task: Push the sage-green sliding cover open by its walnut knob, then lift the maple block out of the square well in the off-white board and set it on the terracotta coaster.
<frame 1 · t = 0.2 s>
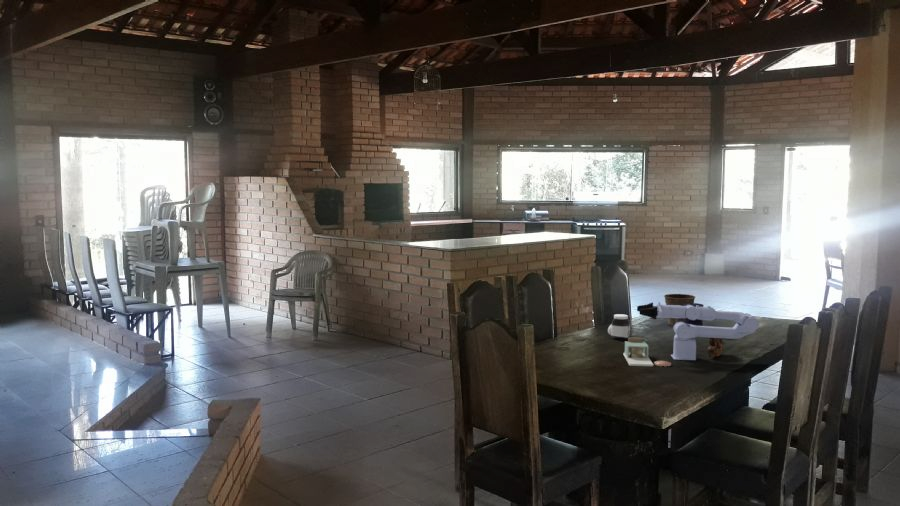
hand: (638, 310, 326), 21 cm above the table, tool horizontal, fingers open, 7 cm apart
plant pot: (678, 325, 399), on the table
block: (636, 357, 327), resting in board
wooden carving: (715, 356, 330), on the table, touching arm
board: (637, 360, 322), on the table
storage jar: (692, 333, 379), on the table
cover: (636, 347, 327), point 5 cm above the table, slide at 0.0 cm
coaster: (662, 364, 315), on the table
spread jar: (617, 337, 368), on the table
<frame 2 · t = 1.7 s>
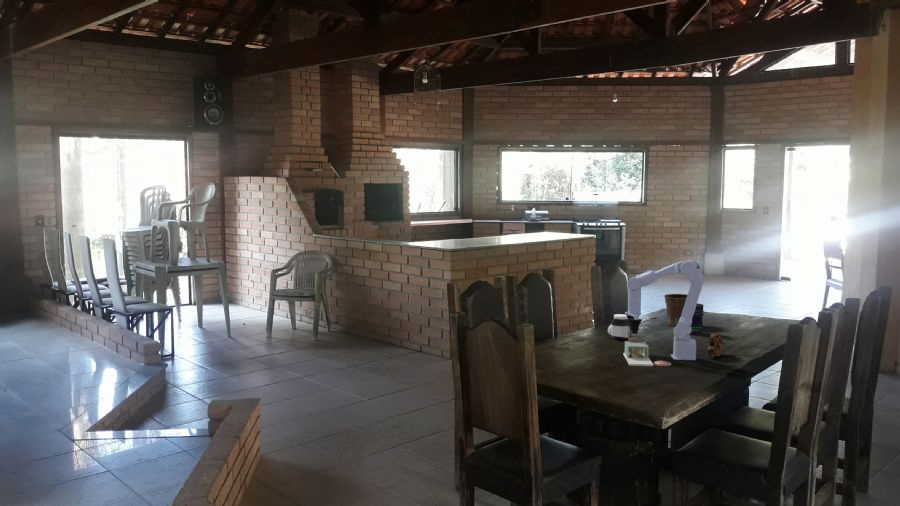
hand: (633, 332, 336), 9 cm above the table, tool pointing down, fingers open, 6 cm apart
wooden carving: (715, 356, 330), on the table
everything else where it was.
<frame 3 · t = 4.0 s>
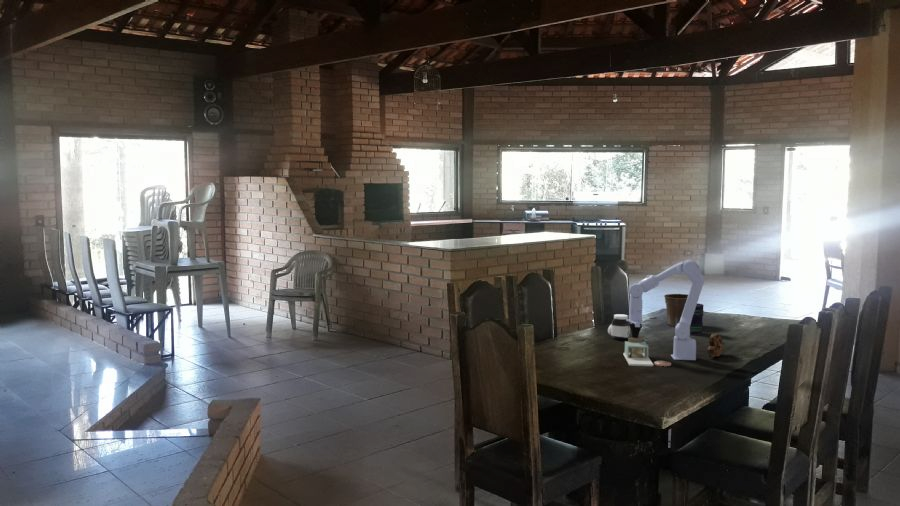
hand: (634, 339, 332), 7 cm above the table, tool pointing down, fingers closed
cover: (636, 347, 327), point 5 cm above the table, slide at 0.1 cm, touching gripper
everything else where it was.
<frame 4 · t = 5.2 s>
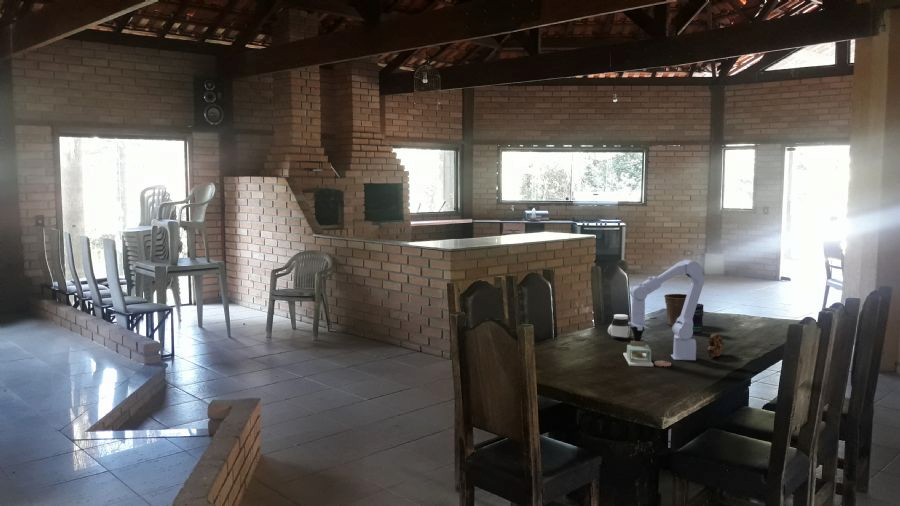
hand: (637, 343, 325), 7 cm above the table, tool pointing down, fingers closed
cover: (638, 351, 320), point 5 cm above the table, slide at 7.1 cm, touching gripper
everything else where it was.
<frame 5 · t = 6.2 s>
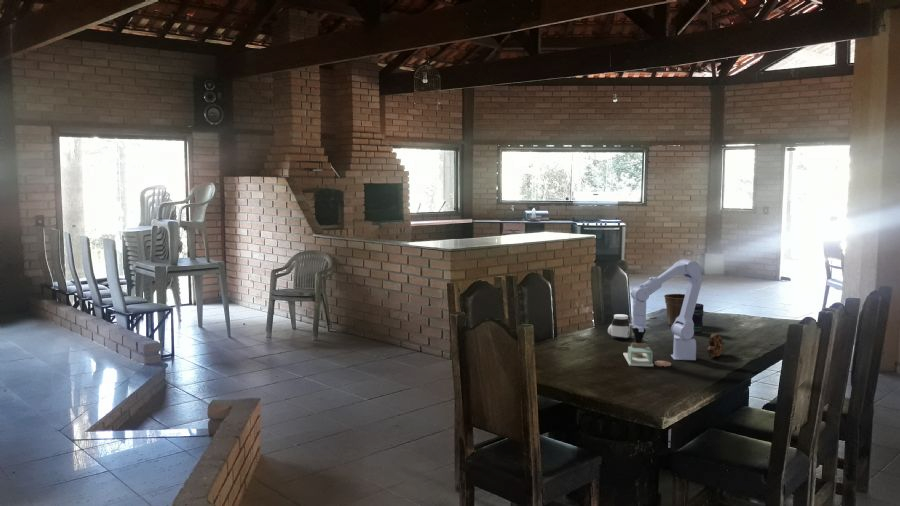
hand: (638, 344, 322), 7 cm above the table, tool pointing down, fingers closed
cover: (640, 352, 316), point 5 cm above the table, slide at 10.3 cm, touching gripper
everything else where it was.
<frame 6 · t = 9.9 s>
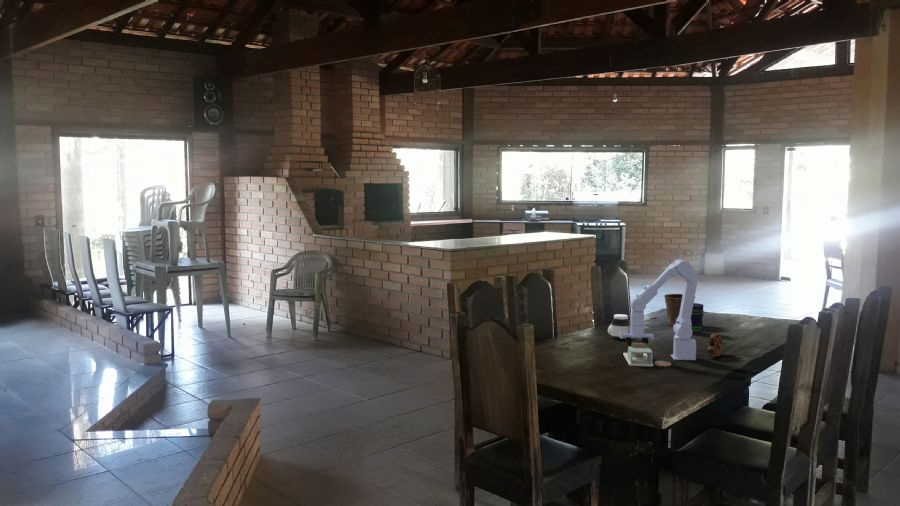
hand: (636, 354, 327), 1 cm above the table, tool pointing down, fingers closed on block, 4 cm apart
block: (636, 357, 327), resting in board, touching gripper
cover: (640, 352, 316), point 5 cm above the table, slide at 10.4 cm
everything else where it was.
when the fingers open (4 cm above the table, at t = 14.2 s): block drops 1 cm, resting on coaster.
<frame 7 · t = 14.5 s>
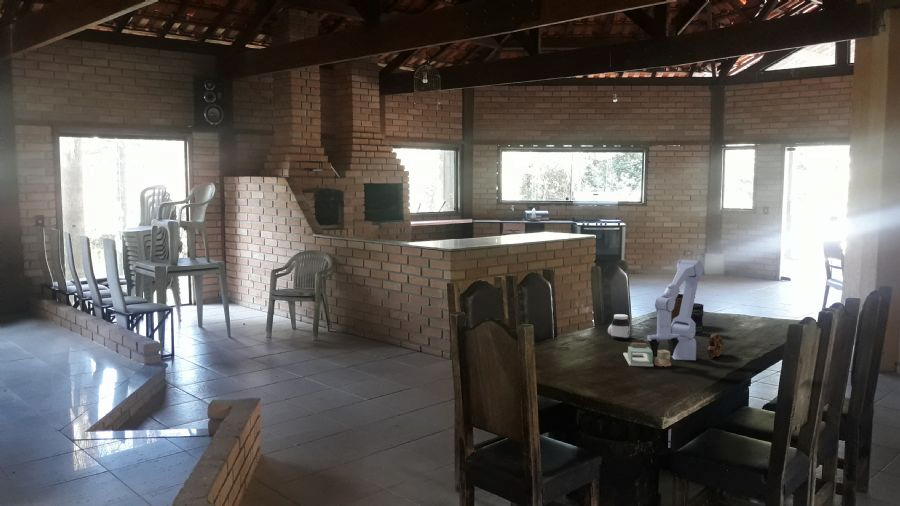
hand: (662, 356, 314), 4 cm above the table, tool pointing down, fingers open, 7 cm apart
block: (662, 362, 315), point 1 cm above the table, touching coaster
cover: (640, 352, 316), point 5 cm above the table, slide at 10.4 cm, touching gripper
everything else where it was.
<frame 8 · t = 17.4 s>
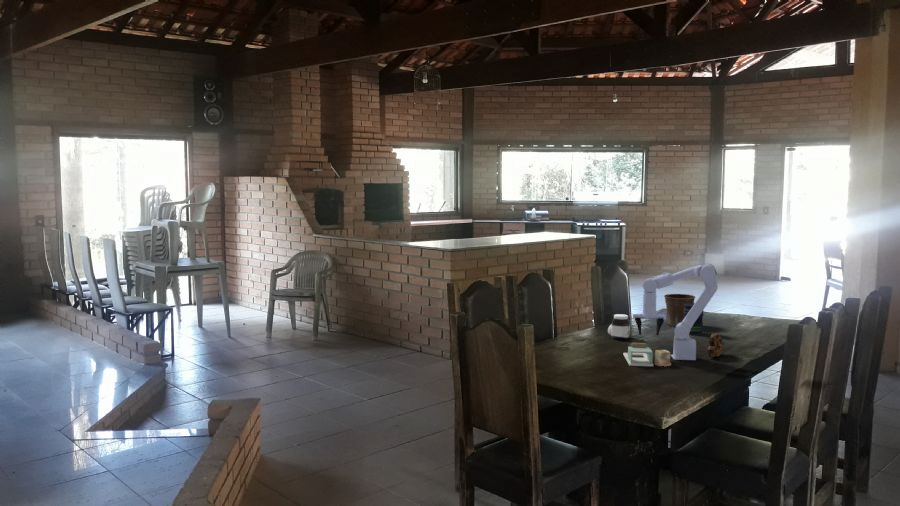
hand: (648, 334, 330), 9 cm above the table, tool pointing down, fingers open, 7 cm apart
cover: (640, 352, 316), point 5 cm above the table, slide at 10.4 cm
everything else where it was.
at the end: cover slide at 10.4 cm; block 0.3 cm off-centre on the coaster, point 0.8 cm above the coaster's base; block tilted 0° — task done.
